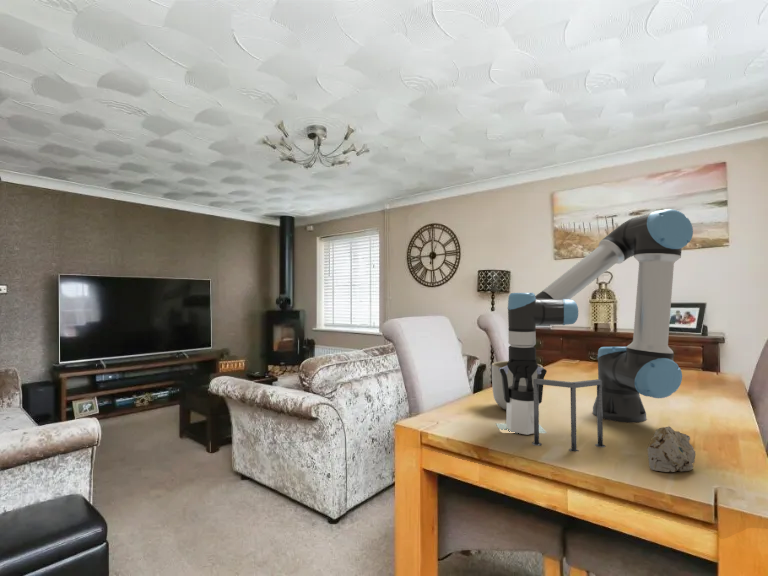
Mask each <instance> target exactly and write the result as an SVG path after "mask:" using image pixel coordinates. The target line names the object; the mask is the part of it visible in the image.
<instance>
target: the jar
mask: <svg viewBox="0 0 768 576" xmlns="http://www.w3.org/2000/svg"><path fill="white" fill-rule="evenodd" d="M508 388H509V397H510V402H509V403H507V410H505V411H506V412H505V414H506V418H505V424H506V427H507V428H508V429H509V430H510V431H511V432H515V433H520V434H519V435H521V434H522V435H525V436H527V435H532V434H533V435H534V388H533V390H529V389H528V388H527V386H521V385H519V387H518V389H513V387H512V386H509V387H508Z"/></svg>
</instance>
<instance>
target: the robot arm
mask: <svg viewBox="0 0 768 576" xmlns="http://www.w3.org/2000/svg"><path fill="white" fill-rule="evenodd" d="M693 234H694V228H693V224H692V222H691V220H690V219H689V217H687V216H686V215H685V214H684V213H683V212H682V211H679V210H678V209H673V208H672V209H671V208H667V209H661V210H659V209H658V210H655V211H653V212H650V213H646V214H643V215H640V216H635V217H632V218H630V219H628V220H625V221H624V222H623V223H621V224H620V225H619V226H617V227H616V228H615V229H614V230H612V231H611V232H610V233H609V234H607V235H606V236H605V237H604V238H602V239H601V240H600V241H599V242H598V246H597V247H596V248H594V249H593V250H592V251H591V252H590V253H589V254H587V255H586V256H584V257H583V258H582V259H581V260H579V262H577V263H576V264H575V265H573V266H572V267H570V269H568V270H567V271H566V272H564V273H563V274H562V275H560V276H559V277H558V278H557V279H555V280H554V281H553V282H552V283H550V284H549V285H547V287H545V288H544V289H542V290H541V291H540V292H538V293H537V294H535V293H534V292H512V293H510V294H509V295H508V299H507V314H508V315H507V319H508V320H507V321H508V323H507V324H508V344H509V346H508V360H507V361H508V363H507V366H505V367H502V368H501V367H500V368H499V372H500V374H501V377H502V385H503V394H504V400H505V401H506V402H507V403H509V402H510V397H509V388H508V379H507V375H506V374H508V369H509V370H510V371H511V373H512V374H513V384H512V387H513V389H518V387H519V382H520V378H525V380H526V386H527V388H528V389H529V390H533V385H532V375H533V373H534V372H535V371H536V370H537V374H538V375H537V379H545V377H546V375H547V369H546V368H545V367H543V368H541V367H539V366H538V365H537V364H538V362H537V348H536V346H535V345H536V344H537V339H536V338H537V336H536V329H537V328H536V326H542V325H545V326H546V325H547V326H554V325H555V326H568V325H569V326H570V325H574V324H575V323H576V322H577V321H578V318H579V307H578V304H577V302H576V301H575V300H573V298H574V297H575V296H576V295H577V294H579V293H580V292H582V291H583V290H584V289H585V288H586V287H587V286H589V285H590V284H591V283H593V282H594V281H595V280H597V279H598V278H599V277H600V276H602V275H603V274H604V273H605V272H607V271H608V270H610V269H611V268H612V267H613V266H614V265H616V264H619V265H620V264H622V263H624V262H625V261H626V260H629V259H630V258H632V257H633V258H634V259H635V260H637V261H638V271H637V273H638V274H637V285H636V296H635V311H634V322H633V323H634V324H633V337H632V341H631V343H629V344H628V345H627V346H601V347H600V348H598V350H597V358H596V359H597V375H598V376H597V378H598V380H601V381H602V420H608V421H613V422H619V423H642V422H645V421H646V420H647V412H646V409H645V406H644V404H643V401H642V399H641V396H643V397H649V398H654V399H664V398H667V397H669V396H672V395H673V394H674V393H676V392H677V391H678V389H679V388H680V386H681V385H682V384H681V383H682V381H683V372H682V369H681V367H679V365H678V363H677V362H675V361H674V351H673V350H672V348H671V347H670V346H669V336H670V335H669V333H670V324H671V323H670V322H671V321H670V320H671V305H672V296H673V295H672V294H673V281H674V280H673V279H674V269H675V268H674V267H675V266H674V265H675V263H676V262H677V261H678V260H679V259H681V258H682V249H683V248H684V247H686V246H688V244H689V243H690V242H691V241H692V239H693ZM543 392H544V385H540V384H538V394H539V403H540V404H542V402H543ZM640 395H641V396H640ZM592 414H593V416H595V417H597V396H596V397H595V399H594V402H593V405H592Z"/></svg>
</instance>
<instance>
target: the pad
mask: <svg viewBox="0 0 768 576" xmlns="http://www.w3.org/2000/svg"><path fill="white" fill-rule="evenodd" d="M495 425H496V427H497V428H498V430H499V429H501V430H503V429H504V430H507V429H508V428H507V427H506V423H495ZM508 431H509V429H508ZM509 432H510V431H509ZM539 434H548V433H547V431H546V430H545V429H544V427H542V425H541V424H540V423H539ZM514 435H521V434H520V433H519V434H518V433H515V434H514Z"/></svg>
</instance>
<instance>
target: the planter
mask: <svg viewBox="0 0 768 576" xmlns="http://www.w3.org/2000/svg"><path fill="white" fill-rule="evenodd" d="M508 361H509V360H502V361H495V362H492V363H491V382H492V383H491V384H492V385H491V387H492V393H493V394H492V395H493V400H494V401H495V402H496V404H497V405H498V406H499V407H500V408H501V409H503V410H505V411H506V410H507V402H506V401H505V400H504V394H503V385H502V377H501V374H500V372H499V368H500V367H501V368H502V367H505V366H507V363H508ZM537 365H538V366H539V367H541V368H544V366H543V365H542V364H539V363H537ZM506 375H507V379H508V387H509V386H512V384H513V374H512V373H511V371H510V370H509V369H508V374H506ZM537 375H538V374H537V370H536V371H535V372H534V373H533V375H532V385H533V388H534V382H533V380H534V379H537ZM519 385H521V386H526V380H525V378H520V382H519ZM540 404H541V403H539V406H540Z"/></svg>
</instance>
